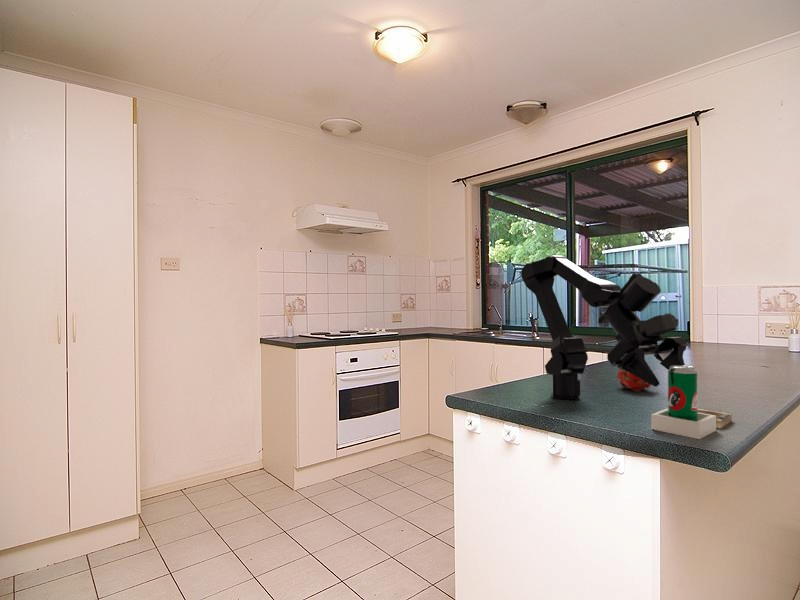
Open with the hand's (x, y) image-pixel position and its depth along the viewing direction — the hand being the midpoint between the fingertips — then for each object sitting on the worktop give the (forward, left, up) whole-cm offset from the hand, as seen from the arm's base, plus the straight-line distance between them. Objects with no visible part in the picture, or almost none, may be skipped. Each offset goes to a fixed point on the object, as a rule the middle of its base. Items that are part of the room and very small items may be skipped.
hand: (673, 383), depth 94 cm
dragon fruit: (0, +39, -9) cm, 40 cm away
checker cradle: (+7, +7, -9) cm, 13 cm away
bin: (+1, -2, -9) cm, 9 cm away
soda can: (+1, -2, -8) cm, 9 cm away
